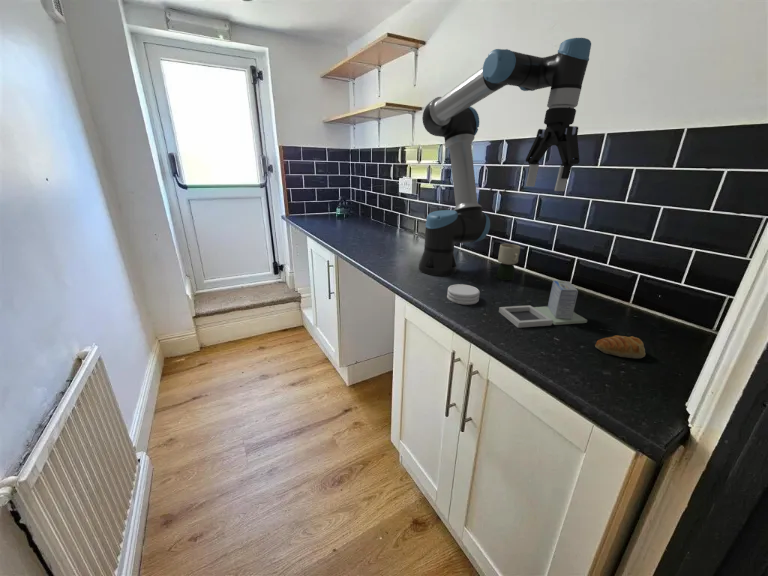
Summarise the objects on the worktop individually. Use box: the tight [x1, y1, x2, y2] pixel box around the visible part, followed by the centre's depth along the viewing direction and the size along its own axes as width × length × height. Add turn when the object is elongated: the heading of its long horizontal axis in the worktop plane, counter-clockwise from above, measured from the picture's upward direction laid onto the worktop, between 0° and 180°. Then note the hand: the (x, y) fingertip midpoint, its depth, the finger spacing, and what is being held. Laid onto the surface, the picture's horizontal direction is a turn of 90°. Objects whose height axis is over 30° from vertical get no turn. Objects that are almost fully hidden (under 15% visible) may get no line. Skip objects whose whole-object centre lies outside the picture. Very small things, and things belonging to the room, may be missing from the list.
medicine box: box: [547, 280, 579, 319], centre depth 92 cm, size 8×4×9 cm, turn 169°
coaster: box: [446, 283, 481, 306], centre depth 104 cm, size 10×10×4 cm
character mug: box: [496, 243, 521, 281], centre depth 121 cm, size 11×7×13 cm, turn 13°
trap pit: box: [498, 304, 553, 329], centre depth 91 cm, size 10×10×2 cm
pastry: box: [594, 334, 646, 359], centre depth 76 cm, size 9×7×4 cm
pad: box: [533, 305, 588, 326], centre depth 93 cm, size 10×10×1 cm
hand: (543, 188), depth 97 cm, fingers open, 13 cm apart
